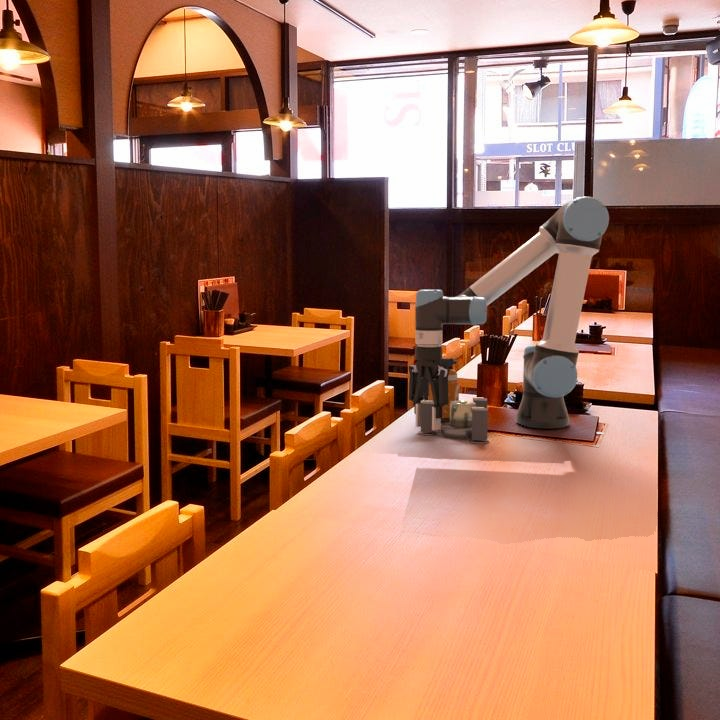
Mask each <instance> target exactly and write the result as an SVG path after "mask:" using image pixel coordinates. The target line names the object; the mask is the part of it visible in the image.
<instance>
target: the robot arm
mask: <svg viewBox="0 0 720 720" xmlns="http://www.w3.org/2000/svg"><path fill="white" fill-rule="evenodd" d="M609 222H610V215H609V211H608V209H607V207H606V205H605V204H604V203H603V202H602V201H600V200H599V199H597V198H595V197H592V196H578V197H575V198H573V199H571V200H570V201H567V202H566V203H564V204H563V205H562V206H560V208H559V209H558V210H557V211H556V212H554V214H553V215H552V216H551V217H550V218H548V220H546V222H544V223H543V224H542V225H541V226H539V229H538V232H537V233H536V234H535V235H534V236H533V237H531V238H530V239H529V240H527V241H526V242H525V243H523V244H522V245H521V246H520V247H518V248H517V249H516V250H515V251H513V252H512V253H511V254H509V255H508V256H507V257H506V258H505V259H503V260H502V261H501V262H500V263H498V264H497V265H495V266H494V267H493V268H492V269H491V270H489V271H488V272H487V273H485V274H483V275H482V276H481V277H480V278H479V279H478V280H476V281H475V282H474V283H473V284H471V285H470V286H469V287H467V288H466V289H465V290H463V291H462V292H461V293H460V294H458V295H456V296H444V292H443V290H442V289H419V290H417V292H416V293H415V306H414V307H415V308H414V309H415V312H414V314H415V315H414V317H415V318H414V319H415V321H414V324H415V329H414V330H415V332H414V333H415V338H414V339H415V340H414V341H415V343H414V344H416V346H415V347H414V359H415V360H416V363H415V365H414V364H413V365H409V366H408V372H409V379H408V380H409V384H408V400H409V401H412V402H413V405H414V407H413V408H414V409H413V411H414V412H413V413H414V415H415V428H419V427H420V428H421V401H424V391H425V387H426V382H427V381H428V382H429V383H430V386H431V390H432V395H433V400H434V405H433V407H432V430H436V431H439V430H441V418H442V407H443V406H444V405H448V403H449V402H448V375H449V369H444V368H442V367H441V363H440V361H441V359H442V358H443V347H442V346H441V345H443V330H444V329H443V325H472V326H475V325H484V324H485V323H486V321H487V318H488V317H487V315H488V306H489V305H490V304H491V303H493V302H494V301H495V300H497V299H498V298H499V297H501V296H502V295H503V294H504V293H506V292H507V291H508V290H510V289H511V288H512V287H513V286H515V285H516V284H517V283H519V282H520V281H522V279H523V278H525V277H527V276H528V275H529V274H531V273H532V272H533V271H534V270H535V269H537V268H539V266H541V265H542V264H543V263H544V262H546V261H547V260H549V259H550V258H551V257H552V256H554V255H555V254H558V258H557V263H556V268H555V274H554V279H553V283H552V289H551V295H550V298H549V303H548V309H547V315H546V319H545V320H546V321H545V325H544V331H543V336H542V339H541V340H539V341H537V342H536V343H535V345H528V346H526V347H525V348H524V350H523V355H522V358H523V371H522V373H523V374H522V377H523V379H522V398H521V400H520V401H521V402H520V404H519V407H518V410H517V412H516V415H515V416H516V417H515V422H516V421H517V422H518V423H520V424H521V425H520V426H522V425H524V426H523V427H526V426H527V428H532V429H533V428H535V429H562V428H566V426H567V427H568V426H570V416H569V413H568V409H567V406H566V402H565V399H564V396H567V395H568V394H569V393H571V392H572V391H573V389H574V388H575V387H576V385H577V383H578V369H577V363H578V358H579V352H580V351H579V349H578V348H577V346H576V340H577V339H576V338H577V333H578V329H579V328H578V327H579V324H580V323H579V322H580V317H581V313H582V308H583V302H584V298H585V293H586V287H587V282H588V279H589V272H590V269H591V268H590V267H591V262H592V258H593V257H594V255H596V254H597V253H599V252H600V247H601V244H602V239H603V235H604V234H605V232H606V231H607V228H608V227H609ZM438 401H439V402H438Z"/></svg>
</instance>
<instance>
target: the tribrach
mask: <svg viewBox="0 0 720 720" xmlns="http://www.w3.org/2000/svg"><path fill="white" fill-rule="evenodd" d="M472 407H475V402H473V401H469V400H466V399H465V400H459V401H452V402H450V422H448V423H443V424H441V429H440V432H438V431H436V432H421V430H420V431H418V434H419V435H420V436H421V435H422V436H430V437H431V436H437V435H439V436H441V437H443V438H448V439H452V440H453V439H454V440H469V442H470V443H471V444H478V445H484V444H489V443H490V440H489V439H487V441H483V440H472Z"/></svg>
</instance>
